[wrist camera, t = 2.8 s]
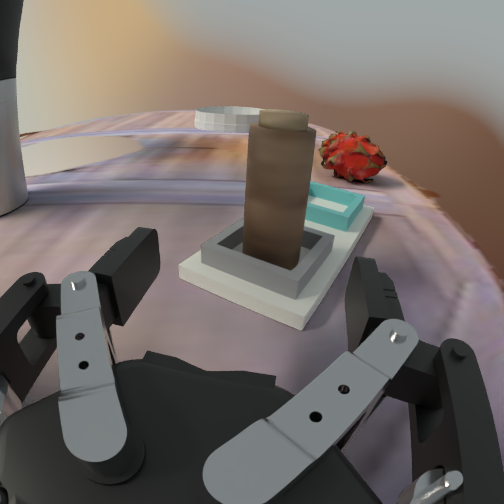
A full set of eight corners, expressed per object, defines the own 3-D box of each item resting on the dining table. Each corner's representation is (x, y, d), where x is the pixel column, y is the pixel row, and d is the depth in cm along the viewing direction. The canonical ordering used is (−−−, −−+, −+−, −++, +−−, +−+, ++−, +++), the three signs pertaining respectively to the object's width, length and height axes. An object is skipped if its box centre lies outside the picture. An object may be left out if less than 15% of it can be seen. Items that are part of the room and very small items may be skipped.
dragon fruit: (308, 182, 51) (373, 198, 52) (325, 164, 43) (399, 185, 44) (313, 136, 52) (375, 154, 53) (330, 113, 43) (399, 136, 45)
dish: (219, 119, 100) (220, 105, 97) (283, 127, 92) (284, 111, 90) (178, 128, 82) (178, 111, 80) (252, 137, 75) (254, 117, 72)
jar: (233, 248, 26) (239, 108, 20) (280, 239, 28) (294, 109, 22) (257, 278, 23) (270, 116, 17) (309, 266, 24) (331, 119, 19)
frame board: (301, 330, 20) (308, 298, 19) (179, 278, 24) (177, 247, 23) (372, 216, 37) (376, 195, 35) (296, 195, 41) (298, 175, 39)
